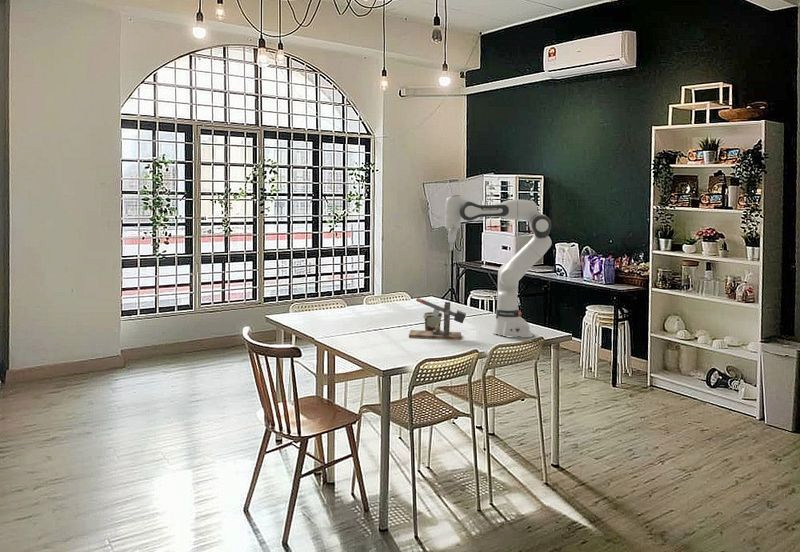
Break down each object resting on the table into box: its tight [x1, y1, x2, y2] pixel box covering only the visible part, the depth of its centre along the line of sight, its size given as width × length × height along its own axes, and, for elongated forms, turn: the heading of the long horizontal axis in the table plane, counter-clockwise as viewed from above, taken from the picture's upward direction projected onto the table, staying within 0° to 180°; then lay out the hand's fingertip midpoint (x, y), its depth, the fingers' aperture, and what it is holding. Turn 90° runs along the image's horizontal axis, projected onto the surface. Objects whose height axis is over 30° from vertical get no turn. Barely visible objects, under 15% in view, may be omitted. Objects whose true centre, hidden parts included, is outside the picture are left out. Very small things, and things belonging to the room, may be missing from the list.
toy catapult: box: [408, 301, 462, 341], centre depth 380 cm, size 28×12×18 cm, turn 84°
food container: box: [423, 311, 443, 331], centre depth 395 cm, size 12×6×10 cm, turn 130°
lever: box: [415, 297, 467, 324], centre depth 379 cm, size 28×5×7 cm, turn 86°
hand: (451, 249), depth 387 cm, fingers open, 8 cm apart
